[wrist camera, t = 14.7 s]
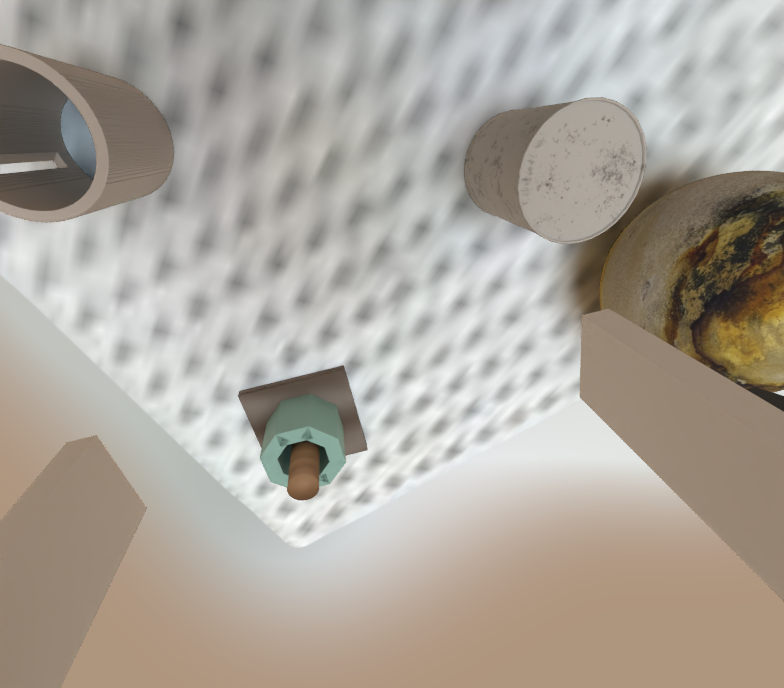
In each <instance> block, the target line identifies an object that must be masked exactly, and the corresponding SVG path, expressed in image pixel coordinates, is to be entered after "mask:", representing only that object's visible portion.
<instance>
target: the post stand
mask: <svg viewBox="0 0 784 688" xmlns="http://www.w3.org/2000/svg"><path fill="white" fill-rule="evenodd" d="M307 394H312V395H314V396H317V397H319V398H321V399H323V400H326V401H328V402H330V403H332V404H334V405H336V406H337V409H338V412H339V415H340V419H341V422H342V425H343V429H344V443H345V456H346V455H350V454H354V453H358V452H362V451H366V450H367V444H366V441H365V437H364V434H363V430H362V427H361V423H360V420H359V417H358V413H357V410H356V406H355V403H354V399H353V396H352V393H351V389H350V386H349V382H348V379H347V376H346V372H345V369H344V366H340V367H336V368H332V369H328V370H324V371H320V372H316V373H312V374H308V375H304V376H300V377H296V378H292V379H288V380H284V381H280V382H275V383H271V384H267V385H263V386H259V387H255V388H251V389H247V390H243V391H240V392H239V395H238V397H239V399H240V402H241V404H242V406H243V408H244V410H245V413H246V415H247V417H248V419H249V421H250V424H251V426H252V428H253V430H254V432H255V435H256V437H257V439H258V441H259V443H260V446H261V448H262V445H263V440H264V435H265V430H266V425H267V422H268V420H269V419H270V417H271V416H272V414H273V412H274V411H275V409H276V408H277V406H278V405H279V403H280V402H281V401H282V400H287V399H291V398H295V397H299V396H303V395H307ZM319 448H320V445H318V444H315V443H313V442H310V441H308V440H305V441H301V442H297V443H293V444H292V447H291V457H290V466H289V476H288V486H287V492H288V494H289V495H290V496H291V497H292V498H294V499H297V500H308V499H311V498H313V497H314V496H315V495H316V494H317V493H318V491H319Z"/></svg>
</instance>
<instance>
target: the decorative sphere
mask: <svg viewBox="0 0 784 688" xmlns="http://www.w3.org/2000/svg"><path fill="white" fill-rule="evenodd" d="M599 296H600V307H601V310H605V309H610V310H612V311H614V312H615V313H617V314H619V315H621V316H622V317H624V318H626V319H627V320H629V321H631V322H632V323H634V324H636V325H637V326H639V327H641V328H643V329H644V330H646V331H648V332H649V333H651V334H653V335H654V336H656V337H658V338H659V339H661V340H663V341H665V342H666V343H668V344H670V345H671V346H673V347H675V348H676V349H678V350H680V351H682V352H683V353H685V354H687V355H688V356H690V357H692V358H693V359H695V360H697V361H698V362H700V363H702V364H704V365H705V366H707V367H709V368H710V369H712V370H714V371H715V372H717V373H719V374H721V375H722V376H724V377H726V378H727V379H729V380H731V381H732V382H734V383H736V384H737V385H739V386H741V387H743V388H744V389H749V388H753V387H758V388H761V389H764V390H767V391H770V392H777V391H781V390H784V173H783V172H774V171H742V172H733V173H726V174H721V175H716V176H712V177H708V178H704V179H701V180H698V181H695V182H692V183H690V184H687V185H685V186H682V187H680V188H678V189H676V190H674V191H672V192H670V193H668V194H666V195H665V196H663V197H661V198H660V199H658V200H657V201H655V202H654V203H652V204H651V205H649V206H648V207H647V208H645V209H644V210H643V211H642V212H640V213H639V214H638V215H637V216H636V217H635V218H634V219H633V220H632V221H631V222H630V223H629V224H628V225H627V227H626V228H625V229H624V230H623V231H622V233H621V234H620V235H619V237H618V238H617V240H616V241H615V243H614V244H613V246H612V248H611V250H610V252H609V254H608V256H607V259H606V261H605V264H604V267H603V270H602V275H601V280H600V289H599Z"/></svg>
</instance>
